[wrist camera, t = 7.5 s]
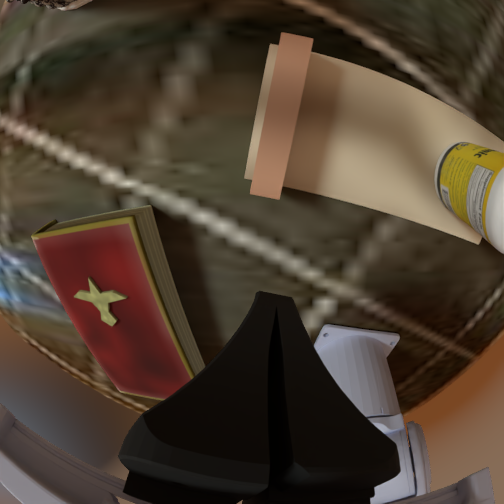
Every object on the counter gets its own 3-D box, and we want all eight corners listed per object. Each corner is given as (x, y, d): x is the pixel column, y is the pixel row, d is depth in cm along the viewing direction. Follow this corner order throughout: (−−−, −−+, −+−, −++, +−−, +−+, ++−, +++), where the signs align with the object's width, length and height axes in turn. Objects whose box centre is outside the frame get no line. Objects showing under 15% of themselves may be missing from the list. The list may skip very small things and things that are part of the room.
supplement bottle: (490, 154, 13) (582, 199, 5) (472, 217, 16) (549, 287, 8) (440, 128, 14) (546, 161, 5) (423, 201, 16) (507, 278, 8)
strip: (477, 243, 17) (497, 262, 14) (244, 177, 17) (236, 191, 14) (509, 147, 13) (534, 156, 10) (270, 44, 13) (267, 30, 10)
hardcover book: (129, 368, 31) (116, 393, 27) (55, 218, 21) (26, 237, 17) (215, 378, 29) (208, 408, 25) (157, 197, 19) (129, 218, 15)
